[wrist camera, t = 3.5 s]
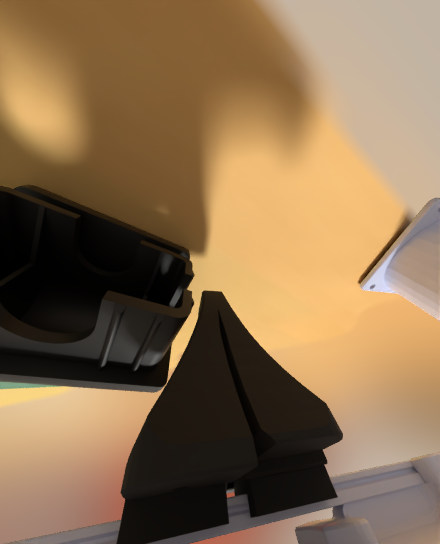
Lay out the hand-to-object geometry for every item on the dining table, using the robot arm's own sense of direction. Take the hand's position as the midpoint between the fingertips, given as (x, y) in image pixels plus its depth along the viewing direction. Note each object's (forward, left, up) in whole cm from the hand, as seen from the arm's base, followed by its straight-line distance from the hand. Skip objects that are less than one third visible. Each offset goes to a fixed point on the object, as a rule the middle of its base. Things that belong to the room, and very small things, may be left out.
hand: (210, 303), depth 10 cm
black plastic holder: (+7, 0, -3) cm, 7 cm away
